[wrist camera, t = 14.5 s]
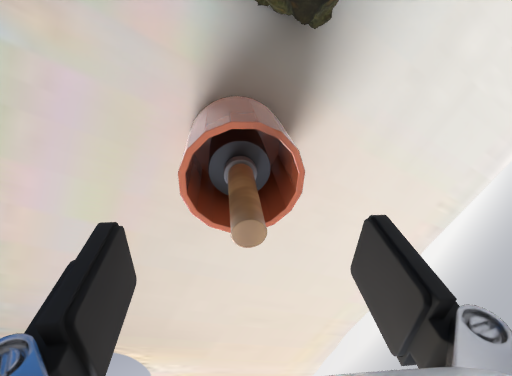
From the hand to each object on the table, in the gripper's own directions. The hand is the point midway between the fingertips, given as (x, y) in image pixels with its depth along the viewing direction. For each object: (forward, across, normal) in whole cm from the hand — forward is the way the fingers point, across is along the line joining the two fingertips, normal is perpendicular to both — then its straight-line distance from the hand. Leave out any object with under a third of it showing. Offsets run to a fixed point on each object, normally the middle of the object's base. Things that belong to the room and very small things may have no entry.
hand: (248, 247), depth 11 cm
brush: (+17, 0, +3) cm, 17 cm away
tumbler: (+17, 0, +2) cm, 17 cm away
